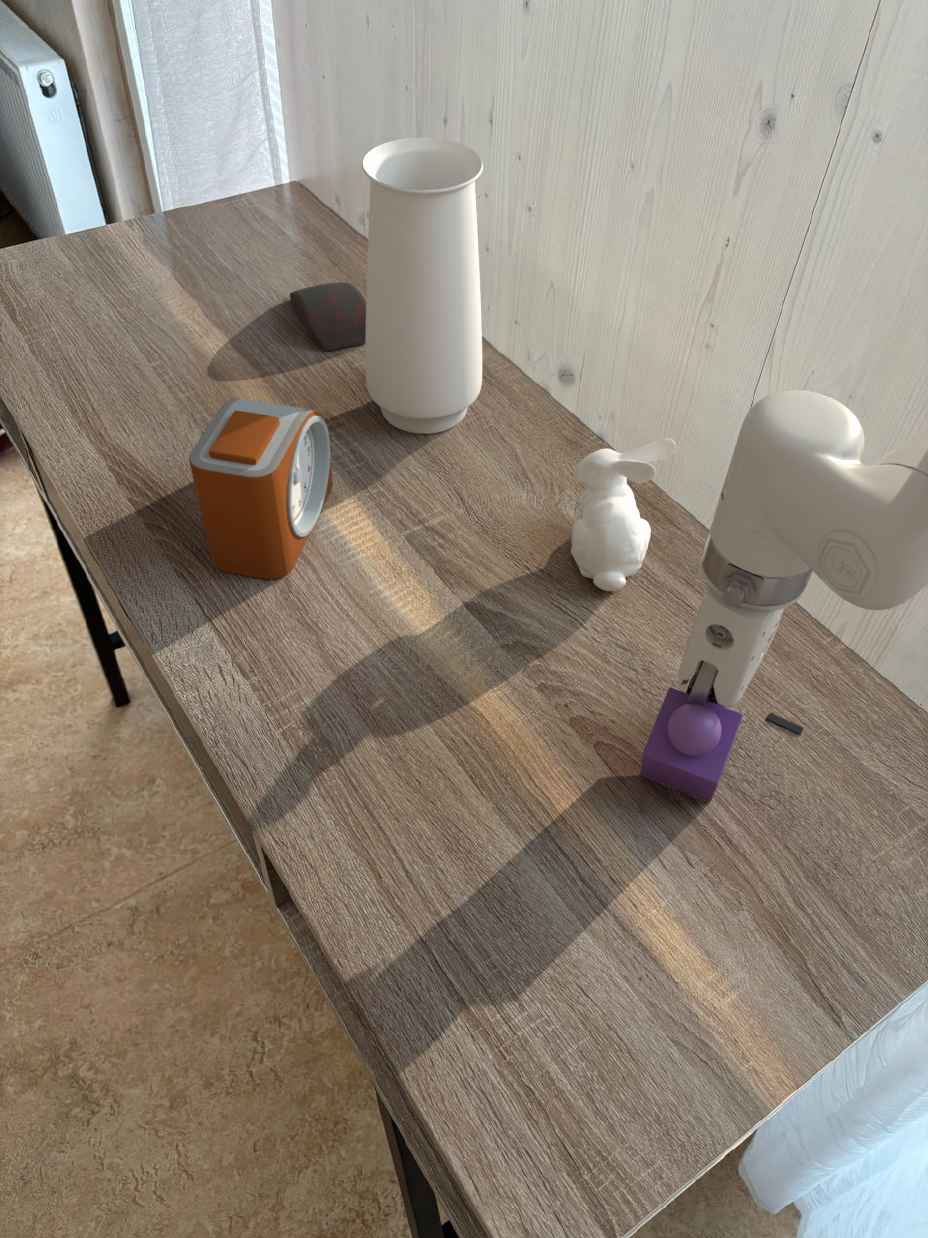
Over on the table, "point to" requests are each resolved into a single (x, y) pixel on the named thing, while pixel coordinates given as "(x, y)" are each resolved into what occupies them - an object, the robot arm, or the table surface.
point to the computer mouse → (332, 314)
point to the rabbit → (613, 513)
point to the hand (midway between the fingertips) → (701, 711)
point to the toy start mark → (785, 723)
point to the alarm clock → (261, 484)
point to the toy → (689, 745)
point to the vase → (423, 283)
